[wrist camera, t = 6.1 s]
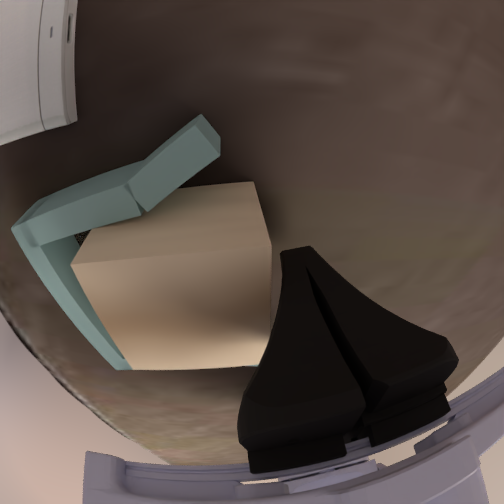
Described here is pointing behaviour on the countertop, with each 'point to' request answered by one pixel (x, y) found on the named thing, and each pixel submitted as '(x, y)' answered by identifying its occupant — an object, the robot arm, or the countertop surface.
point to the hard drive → (36, 66)
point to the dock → (106, 220)
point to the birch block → (184, 280)
